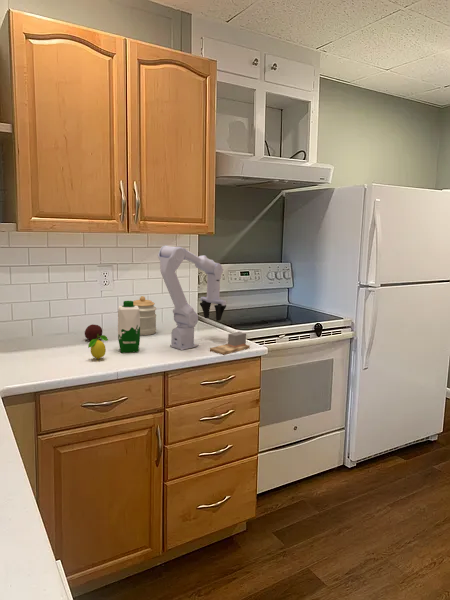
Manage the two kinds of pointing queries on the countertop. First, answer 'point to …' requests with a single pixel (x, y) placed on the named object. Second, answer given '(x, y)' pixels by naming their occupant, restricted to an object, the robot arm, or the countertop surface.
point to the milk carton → (128, 327)
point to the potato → (93, 332)
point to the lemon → (98, 347)
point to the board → (228, 349)
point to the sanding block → (237, 339)
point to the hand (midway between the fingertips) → (212, 319)
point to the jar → (146, 316)
